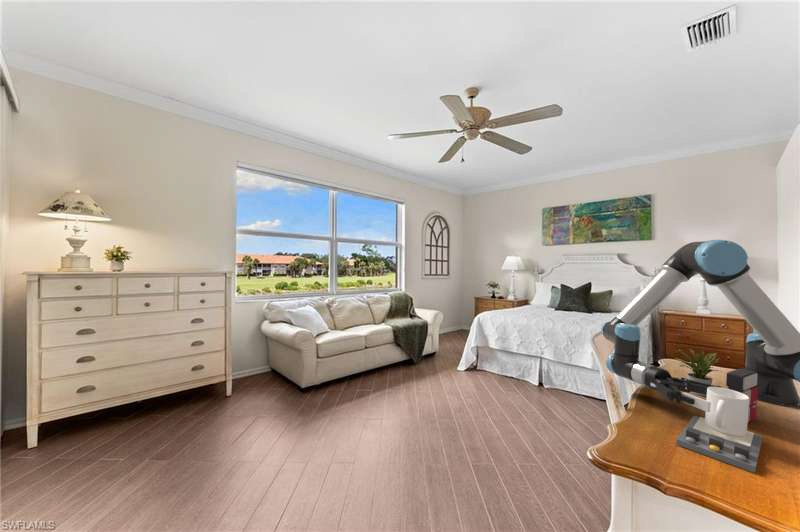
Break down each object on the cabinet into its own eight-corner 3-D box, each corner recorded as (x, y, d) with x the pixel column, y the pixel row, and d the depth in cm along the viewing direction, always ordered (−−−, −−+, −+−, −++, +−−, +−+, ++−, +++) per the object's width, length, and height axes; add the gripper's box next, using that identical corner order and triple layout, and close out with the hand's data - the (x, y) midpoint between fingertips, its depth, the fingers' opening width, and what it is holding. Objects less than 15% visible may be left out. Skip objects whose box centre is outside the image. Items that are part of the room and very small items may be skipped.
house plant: (690, 383, 130) (692, 342, 130) (734, 397, 117) (737, 352, 116) (665, 386, 125) (667, 344, 125) (709, 402, 112) (711, 355, 112)
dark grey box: (743, 427, 95) (746, 377, 95) (723, 420, 99) (726, 372, 99) (757, 419, 100) (760, 372, 100) (738, 413, 104) (740, 367, 104)
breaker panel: (693, 420, 99) (694, 408, 99) (761, 441, 88) (762, 428, 88) (676, 444, 85) (677, 431, 85) (755, 473, 74) (755, 458, 74)
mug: (738, 444, 83) (740, 405, 83) (695, 429, 90) (698, 393, 90) (750, 432, 90) (753, 395, 89) (710, 418, 96) (712, 384, 96)
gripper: (679, 385, 112) (759, 414, 92) (621, 390, 107) (692, 422, 86) (680, 364, 112) (761, 388, 92) (622, 367, 107) (694, 395, 86)
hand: (728, 405), depth 89 cm, fingers open, 13 cm apart
